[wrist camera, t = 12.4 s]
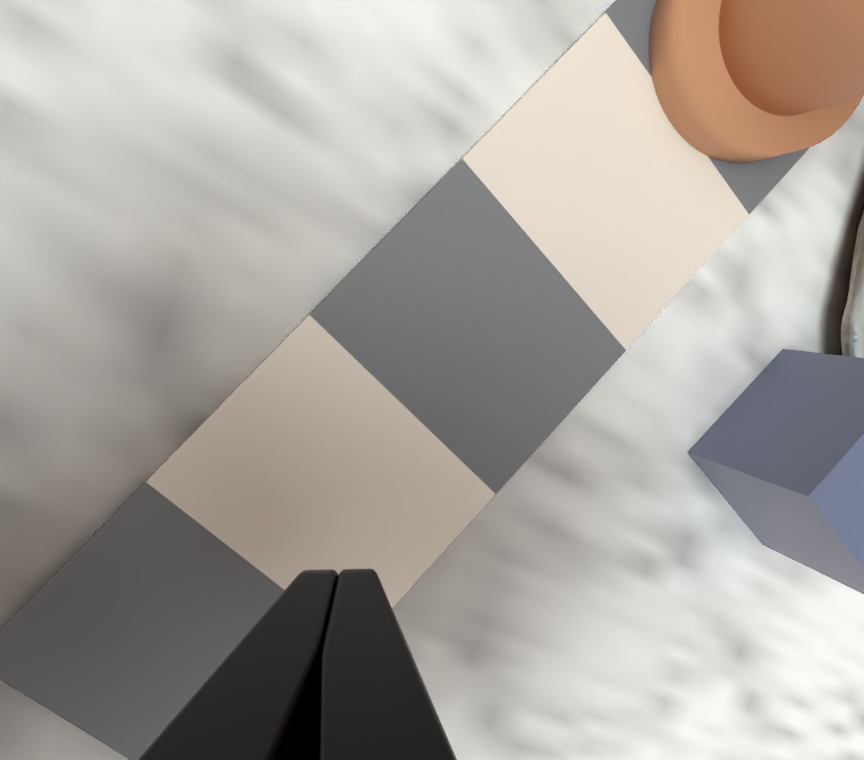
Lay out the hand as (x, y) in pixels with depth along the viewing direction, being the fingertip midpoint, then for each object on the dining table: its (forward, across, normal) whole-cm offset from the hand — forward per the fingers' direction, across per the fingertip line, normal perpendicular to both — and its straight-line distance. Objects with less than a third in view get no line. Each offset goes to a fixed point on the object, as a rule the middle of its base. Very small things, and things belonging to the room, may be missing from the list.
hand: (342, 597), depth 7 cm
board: (+10, -2, +1) cm, 11 cm away
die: (+12, -12, +5) cm, 18 cm away
